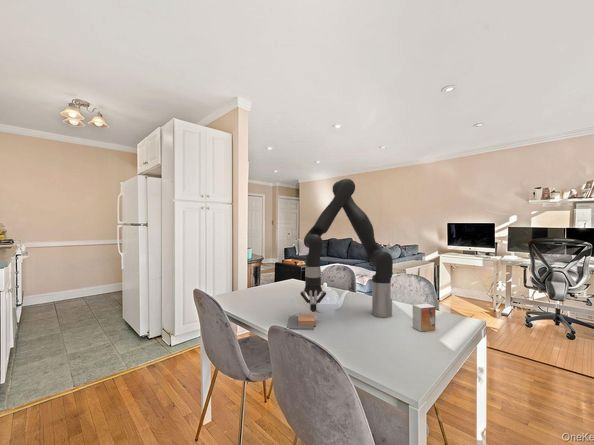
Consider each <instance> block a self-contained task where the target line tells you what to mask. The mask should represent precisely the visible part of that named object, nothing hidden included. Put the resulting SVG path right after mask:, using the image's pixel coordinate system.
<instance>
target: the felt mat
mask: <svg viewBox="0 0 594 445" xmlns="http://www.w3.org/2000/svg"><path fill="white" fill-rule="evenodd" d="M298 316H299V315H288V322H287V327H286V328H289V329H288V330H314V327H315V326H298Z"/></svg>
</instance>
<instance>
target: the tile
mask: <svg viewBox="0 0 594 445" xmlns="http://www.w3.org/2000/svg"><path fill="white" fill-rule="evenodd" d="M297 316H298V326H313V327H316V313H315V312H311V313H310V312H309V313H308V312H307V313H306V312H304V313H303V312H302V313H301V312H299V313H298V315H297Z"/></svg>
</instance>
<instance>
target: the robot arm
mask: <svg viewBox="0 0 594 445" xmlns="http://www.w3.org/2000/svg"><path fill="white" fill-rule="evenodd" d="M355 191H356V184H355V181H353V180H352V179H351V178H343V179H341V180H339V181H336V182H334V184H333V186H332V193H333V195H334V197H333V198H332V200H331V201H330V202H329V203H328V205H327V206H326V207H325V208H324V210H322V212H321V213H320V215H319V216H318V218H317V219H316V221H315V224H314V225H313V226H312V227H311V228H310V230H308V232H307V233H306V234H305V236H304V239H303V244H304V246H305V247H306V248H307V249H308V254H306V255H305V271H304V272H305V273H304V274H305V275H304V277H305V278H304V279H305V280H304V281H305V282H304V284H305V286H304V289H303V290H302V291H300V292H299V293H300V296H301V297H302V298H303V300H304V301H305V302H306V303H307V304H309V306H310V307H309V308H310V311H311V313H315V312H317V304H320V303H321V302H322V301H323V299H324V298H325V297H326V296H327V292H326V291H325V290H323V288H322V270H321V256H322V250H323V244H324V243H323V238H322V235H324V234H326V233H327V232H328V231H329V229H330V227H331V225H332V224H333V222H334V221H335V219H336V218H337V216H338V215H339V212H340V211H341V210H343V211H344V213H345V215H346V217H347V219H348V221H349V222H350V225H351V227H352V228H353V231H354V232H355V234H356V236H357V237H358V240H359V241H360V243H361V245H362V246H363V248H364V250H365V253H366V257H367V258H368V262H370V265H371V266H372V267H374V268H375V273H374V274H373V275H372V276H371V282H372V283H371V284H372V285H371V286H372V287H371V288H372V289H371V294H372V296H371V298H372V299H371V300H372V302H371V303H372V305H371V308H372V309H371V310H372V311H371V313H372V315H373V316H374V317H378V318H389V317H390V318H391V317H393V297H391V295H392V294H391V292H392V290H391V287H392V286H391V283H392V282H391V280H392V277H393V270H394V269H393V268H394V267H393V264H394V262H393V260H394V259H393V256H392V254H390V252H388V251H384V250H381V248H380V247H379V245H378V243H377V241H376V238H375V231H374V227H373V224H372V221H371V220H370V218H369V217H368V215H367V214H366V212H365V211H364V210H362V208H360V207H359V206H358V205H357V203H355V201H354V199H353V197H352V195H353V194H354V193H355ZM306 294H307V295H306ZM319 295H320V296H319ZM307 296H308V297H309V298H308V297H307Z"/></svg>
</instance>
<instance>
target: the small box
mask: <svg viewBox="0 0 594 445" xmlns="http://www.w3.org/2000/svg"><path fill="white" fill-rule="evenodd" d="M412 328H413V329H415V330H417V331H420V332H421V333H422V332H428V331H436V306H434V305H432V304H429V303H420V304H412Z"/></svg>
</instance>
